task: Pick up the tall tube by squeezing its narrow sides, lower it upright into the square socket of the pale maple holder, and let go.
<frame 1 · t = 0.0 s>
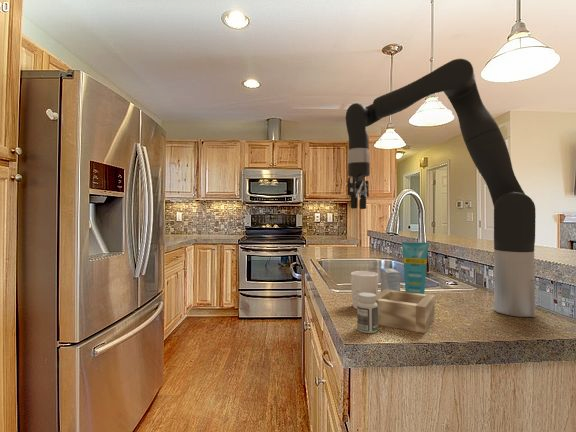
hand: (358, 208, 115), 29 cm above the worktop, tool pointing down, fingers open, 8 cm apart
pill bottle: (367, 331, 77), on the worktop
medicine box: (390, 296, 110), on the worktop
tube: (414, 308, 96), on the worktop
socket holder: (402, 320, 84), on the worktop
white cup: (364, 308, 96), on the worktop
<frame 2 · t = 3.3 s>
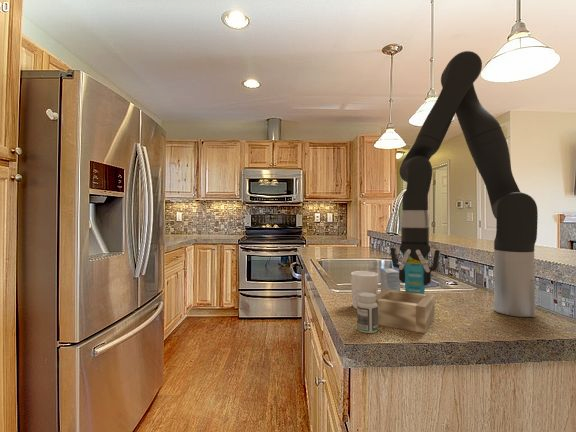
hand: (414, 283, 96), 7 cm above the worktop, tool pointing down, fingers closed on tube, 6 cm apart
tube: (414, 308, 96), on the worktop, touching gripper
everything else where it was.
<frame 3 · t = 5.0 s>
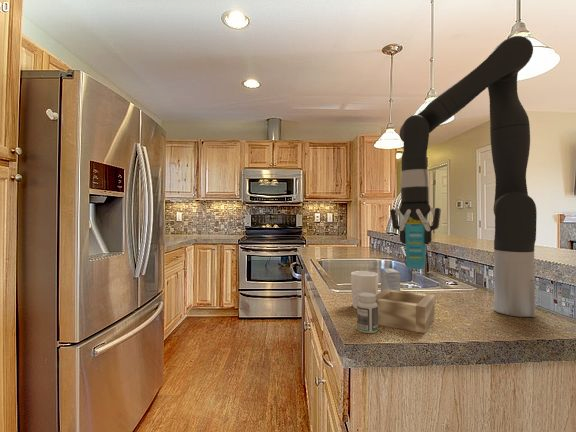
hand: (415, 243, 96), 19 cm above the worktop, tool pointing down, fingers closed on tube, 6 cm apart
tube: (416, 269, 95), point 11 cm above the worktop, touching gripper
everything else where it was.
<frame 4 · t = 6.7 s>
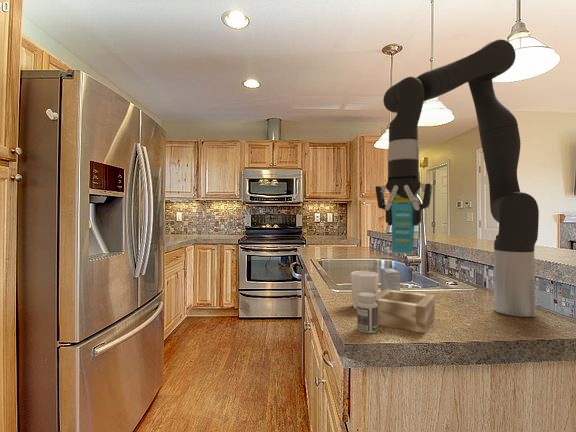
hand: (402, 225, 84), 24 cm above the worktop, tool pointing down, fingers closed on tube, 6 cm apart
tube: (402, 253, 84), point 17 cm above the worktop, touching gripper
everything else where it was.
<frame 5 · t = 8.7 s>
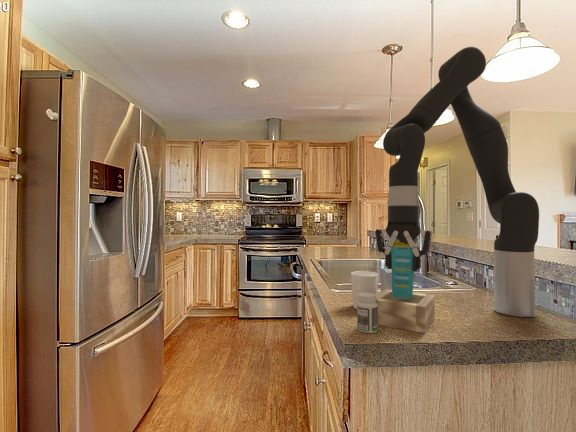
hand: (402, 269, 84), 13 cm above the worktop, tool pointing down, fingers closed on tube, 6 cm apart
tube: (402, 298, 84), point 6 cm above the worktop, touching gripper
everything else where it was.
when the fingers open (8 cm above the worktop, at t = 10.2 s): tube drops 1 cm, resting in socket holder.
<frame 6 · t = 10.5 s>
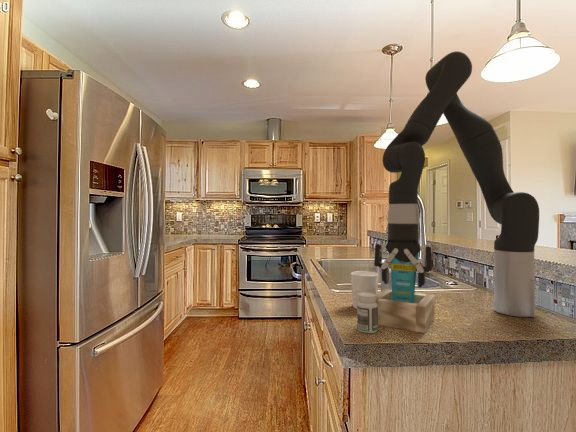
hand: (402, 285, 84), 9 cm above the worktop, tool pointing down, fingers open, 8 cm apart
tube: (402, 321, 84), resting in socket holder
everything else where it was.
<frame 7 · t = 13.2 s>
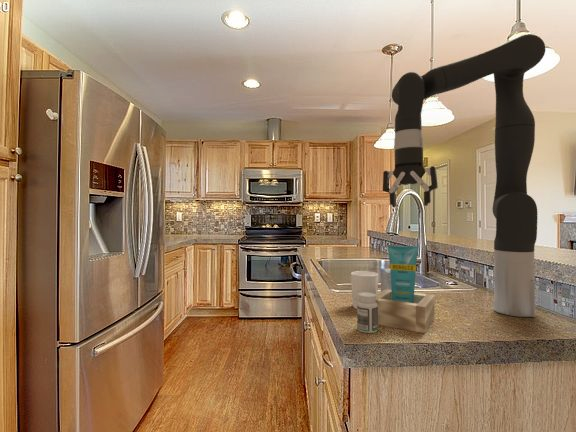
hand: (409, 206, 92), 30 cm above the worktop, tool pointing down, fingers open, 8 cm apart
nothing on the worktop moved.
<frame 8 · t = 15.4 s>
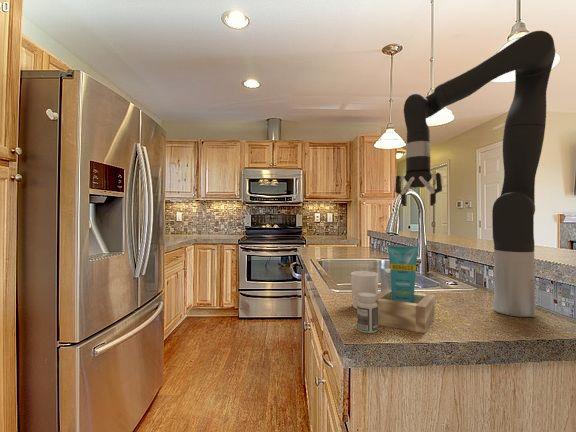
hand: (418, 205, 108), 30 cm above the worktop, tool pointing down, fingers open, 8 cm apart
nothing on the worktop moved.
at the end: tube 0.1 cm off-centre on the socket holder, point 0.0 cm above the socket holder's base; tube tilted 0°; the gripper is holding nothing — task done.
